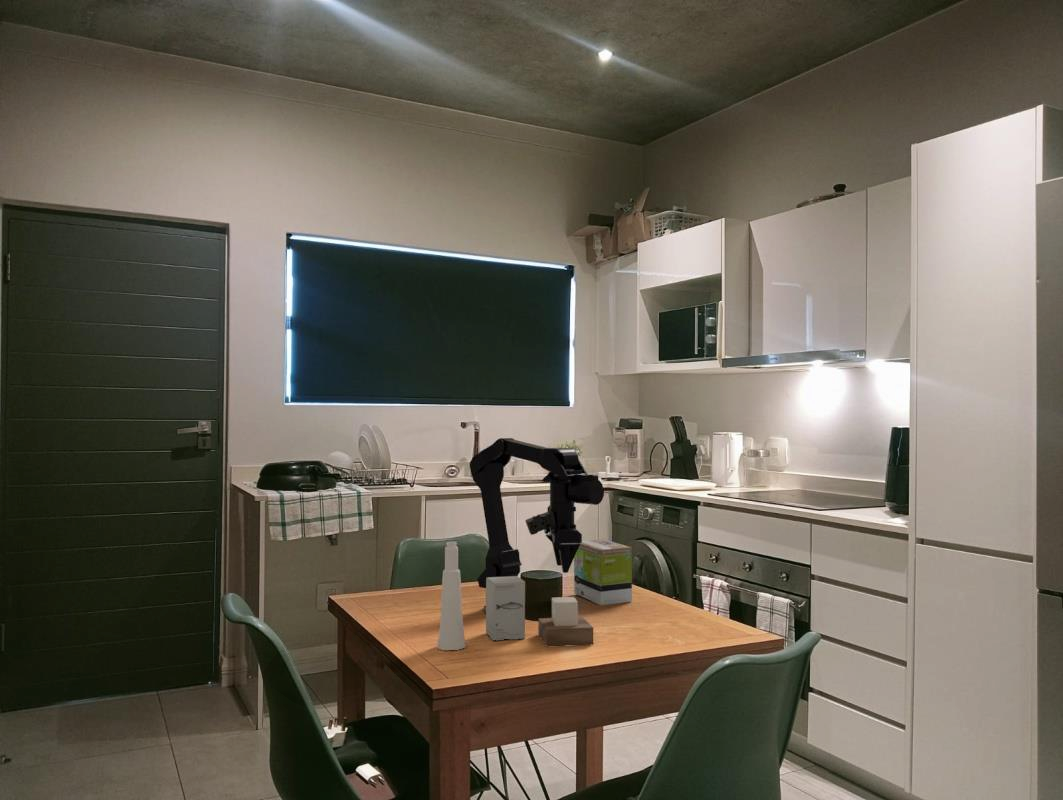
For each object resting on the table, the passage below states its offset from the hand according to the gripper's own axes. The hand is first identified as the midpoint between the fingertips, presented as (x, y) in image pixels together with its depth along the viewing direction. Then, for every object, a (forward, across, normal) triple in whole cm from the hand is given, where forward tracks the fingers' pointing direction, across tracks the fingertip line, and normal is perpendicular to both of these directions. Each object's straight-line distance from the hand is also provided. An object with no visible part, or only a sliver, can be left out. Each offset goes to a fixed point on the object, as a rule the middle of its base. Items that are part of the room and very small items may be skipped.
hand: (562, 568), depth 191 cm
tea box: (+13, -27, +15) cm, 34 cm away
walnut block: (+13, +12, -1) cm, 18 cm away
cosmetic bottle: (+13, +16, -26) cm, 33 cm away
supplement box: (+13, +8, -14) cm, 21 cm away
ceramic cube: (+9, +12, -1) cm, 16 cm away
